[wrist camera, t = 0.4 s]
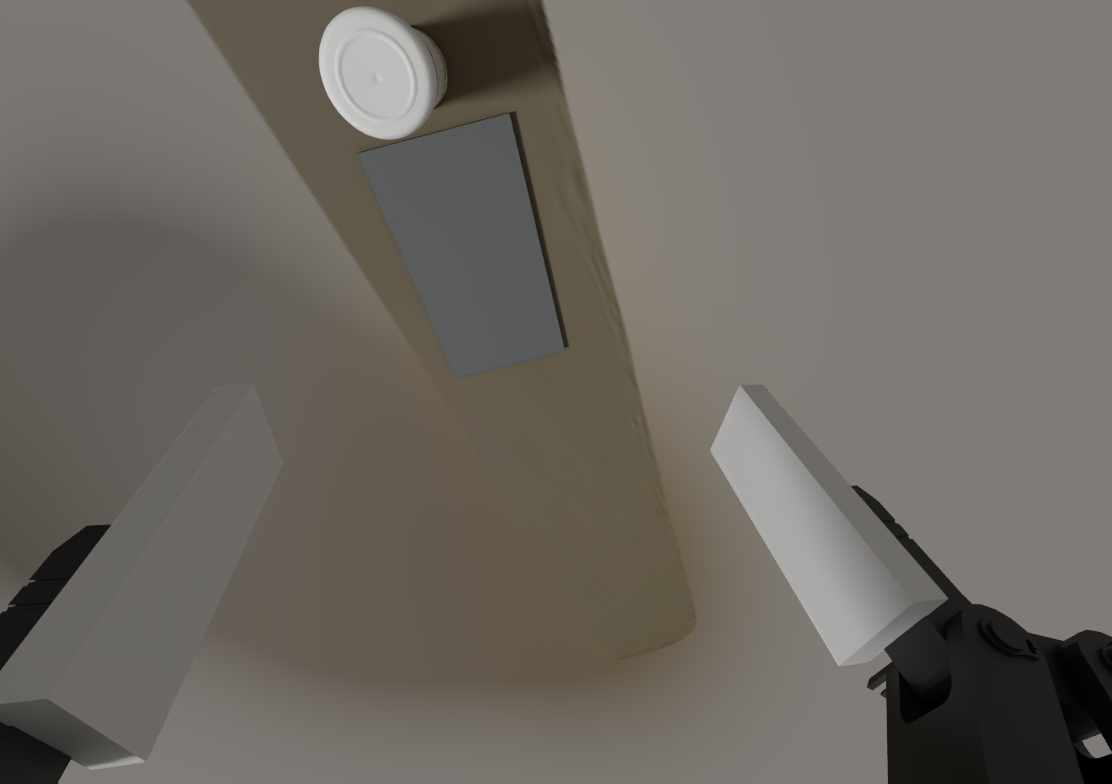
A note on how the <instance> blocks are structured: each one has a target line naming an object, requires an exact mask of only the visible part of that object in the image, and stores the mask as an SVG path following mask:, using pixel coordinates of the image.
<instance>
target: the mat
mask: <svg viewBox="0 0 1112 784" xmlns="http://www.w3.org/2000/svg"><path fill="white" fill-rule="evenodd" d="M357 155H358V157H359V160H360V162H361V164H362V166H363V169H364V171H365V173H366V175H367V178H368V180H369V182H370V185H371V187H372V189H373V191H374V194H375V196H376V198H377V200H378V203H379V205H380V207H381V210H382V212H383V214H384V216H385V219H386V221H387V223H388V225H389V228H390V230H391V232H392V235H393V237H394V239H395V241H396V244H397V246H398V248H399V250H400V253H401V255H402V257H403V260H404V262H405V264H406V266H407V269H408V271H409V273H410V275H411V278H412V280H413V282H414V285H415V287H416V289H417V291H418V294H419V296H420V298H421V300H422V303H423V305H424V307H425V310H426V312H427V314H428V316H429V319H430V321H431V323H432V325H433V328H434V330H435V332H436V335H437V337H438V339H439V341H440V344H441V346H442V348H443V350H444V353H445V355H446V357H447V360H448V362H449V364H450V366H451V369H452V371H453V373H454V375H455V378H460V377H463V376H467V375H471V374H475V373H479V372H483V371H487V370H490V369H494V368H498V367H502V366H506V365H510V364H513V363H517V362H521V361H525V360H529V359H533V358H536V357H540V356H544V355H548V354H552V353H556V352H559V351H563V350H565V349H564V344H563V340H562V336H561V331H560V327H559V323H558V319H557V314H556V310H555V306H554V302H553V297H552V293H551V289H550V284H549V280H548V276H547V272H546V267H545V263H544V259H543V255H542V250H541V246H540V242H539V237H538V233H537V229H536V225H535V220H534V216H533V212H532V208H531V203H530V199H529V195H528V191H527V186H526V182H525V178H524V173H523V169H522V165H521V161H520V156H519V152H518V148H517V144H516V139H515V135H514V131H513V126H512V122H511V118H510V114H509V113H506V114H502V115H499V116H495V117H491V118H487V119H484V120H480V121H476V122H472V123H469V124H465V125H461V126H457V127H454V128H450V129H446V130H442V131H439V132H435V133H431V134H427V135H424V136H420V137H416V138H412V139H409V140H405V141H401V142H397V143H394V144H390V145H386V146H382V147H379V148H375V149H371V150H367V151H364V152H360V153H357Z"/></svg>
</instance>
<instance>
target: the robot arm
mask: <svg viewBox="0 0 1112 784" xmlns="http://www.w3.org/2000/svg"><path fill="white" fill-rule="evenodd" d="M711 452H712V454H713V456H714V458H715V459H716V461H717V463H718V464H719V466H720V468H721V469H722V471H723V473H724V474H725V476H726V478H727V479H728V481H729V483H730V484H731V486H732V488H733V490H734V491H735V493H736V495H737V496H738V498H739V500H740V501H741V503H742V505H743V506H744V508H745V510H746V511H747V513H748V515H749V516H750V518H751V519H752V521H753V523H754V525H755V526H756V528H757V530H758V531H759V533H760V535H761V537H762V538H763V540H764V541H765V543H766V545H767V547H768V548H769V550H770V552H771V553H772V555H773V557H774V558H775V560H776V562H777V563H778V565H779V567H780V568H781V570H782V572H783V573H784V575H785V577H786V579H787V580H788V582H789V584H790V585H791V587H792V588H793V590H794V592H795V594H796V595H797V597H798V599H799V600H800V602H801V603H802V605H803V607H804V609H805V610H806V612H807V614H808V616H809V617H810V619H811V620H812V622H813V624H814V626H815V627H816V629H817V631H818V632H819V634H820V636H821V637H822V639H823V641H824V642H825V644H826V646H827V647H828V649H829V651H830V652H831V654H832V656H833V657H834V659H835V661H836V663H837V664H838V666H844V665H851V664H859V663H865V662H869V661H870V660H872V659H873V658H874V657H876V656H877V655H878V654H879V653H881V652H882V651H883V650H885V651H886V652H887V654H888V655H889V657H890V658H891V660H892V662H891V663H890V664H888V665H887V666H886V667H884V668H883V669H882V670H880V671H879V672H878V673H876V674H875V675H874V676H872V677H871V678H870V679H869V682H868V685H867V687H868V688H870V689H871V690H874V689H875V688H876V687H878V686H879V685H881V684H882V683H883V682H885V681H886V689H884V690H883V691H882V692H881V695H882V696H883V697H885V698H886V700H887V701H886V702H887V755H888V784H1112V754H1109V755H1106V756H1103V757H1100V758H1094V757H1093V756H1092V755H1091V754H1090V753H1089V752H1088V750H1087V749H1086V747H1085V746H1084V744H1083V742H1082V740H1085V739H1088V738H1090V737H1093V736H1096V735H1098V734H1100V733H1101V734H1102V736H1103V737H1104V739H1105V741H1106V742H1107V744H1108V746H1109V748H1110V749H1111V751H1112V637H1111V636H1108V635H1106V634H1104V633H1101V632H1097V631H1091V630H1085V631H1082V632H1080V633H1077V634H1076V635H1074V636H1072V637H1070V638H1069V639H1067V640H1065V641H1061V640H1057V639H1053V638H1048V637H1044V636H1040V635H1036V634H1032V633H1028V632H1027V631H1026V630H1024V629H1023V628H1022V627H1021V626H1019V625H1018V624H1017V623H1016V622H1015V621H1013V620H1012V619H1011V618H1009V617H1007V616H1006V615H1004V614H1002V613H1001V612H999V611H997V610H996V609H993V608H990V607H987V606H984V605H981V604H972V603H971V602H970V601H969V600H968V599H966V598H965V597H964V596H963V595H962V594H961V592H960V591H959V590H958V589H957V588H956V587H955V586H954V585H953V583H952V582H951V581H950V580H949V579H948V578H947V577H946V576H945V575H944V574H943V573H942V571H941V570H940V569H939V568H938V567H937V566H936V565H935V564H934V563H933V561H932V560H931V559H930V558H929V557H928V556H927V555H926V554H925V552H924V551H923V550H922V549H921V548H920V547H919V546H918V545H917V544H916V542H915V541H914V540H913V539H909V537H908V534H907V533H906V531H905V530H904V529H903V528H902V527H901V526H900V525H899V524H896V523H895V519H894V518H893V517H892V516H891V515H890V514H889V513H888V512H887V510H886V509H885V508H884V507H883V506H882V505H881V504H880V502H878V501H877V500H876V499H875V498H873V497H872V496H870V495H869V494H868V493H866V492H865V491H864V490H862V489H861V488H860V487H858V486H850V485H849V484H848V482H847V481H846V480H845V479H844V478H843V477H842V475H841V474H840V473H839V472H838V471H837V470H836V469H835V467H833V465H832V464H831V463H830V462H829V461H828V459H827V458H826V457H825V456H824V455H823V454H822V453H821V451H820V450H819V449H818V448H817V447H816V446H815V444H814V443H813V442H812V441H811V440H810V439H809V438H808V436H807V435H806V434H805V433H804V432H803V431H802V429H801V428H800V427H799V426H798V425H797V424H796V423H795V421H794V420H793V419H792V418H791V417H790V416H789V415H788V413H787V412H786V411H785V410H784V409H783V408H782V407H781V405H780V404H779V403H778V402H777V401H776V400H775V398H774V397H773V396H772V395H771V394H770V393H769V392H768V390H767V389H766V388H765V387H764V386H763V385H739V388H738V390H737V392H736V394H735V397H734V399H733V401H732V403H731V405H730V408H729V410H728V413H727V414H726V417H725V419H724V421H723V423H722V425H721V428H720V430H719V432H718V434H717V437H716V439H715V441H714V443H713V446H712V448H711ZM282 465H283V463H282V460H281V457H280V455H279V452H278V449H277V447H276V444H275V441H274V439H273V436H272V434H271V431H270V428H269V425H268V423H267V420H266V418H265V415H264V413H263V410H262V407H261V404H260V402H259V399H258V396H257V394H256V391H255V388H254V386H253V385H218V386H217V387H216V388H215V390H214V391H213V392H212V394H211V395H210V396H209V397H208V399H207V400H206V401H205V403H204V404H203V405H202V407H201V408H200V409H199V410H198V412H197V413H196V415H195V416H194V417H193V418H192V420H191V421H190V422H189V424H188V425H187V426H186V428H185V429H184V430H183V432H182V433H181V434H180V436H179V437H178V438H177V440H176V441H175V442H174V443H173V445H172V446H171V447H170V449H169V450H168V451H167V453H166V454H165V455H164V456H163V458H162V459H161V460H160V462H159V463H158V465H157V466H156V467H155V468H154V470H153V471H152V472H151V474H150V475H149V476H148V477H147V479H146V480H145V482H144V483H143V484H142V486H141V487H140V488H139V489H138V491H137V492H136V493H135V495H134V496H133V497H132V498H131V500H130V501H129V503H128V504H127V505H126V506H125V508H124V509H123V510H122V512H121V513H120V514H119V516H118V517H117V518H116V520H115V521H114V522H113V524H112V525H93V526H86V527H85V528H83V529H82V530H81V531H79V532H78V533H77V534H75V535H74V536H73V537H72V538H70V539H69V540H67V541H66V542H65V543H63V544H62V545H61V546H60V547H58V548H57V549H55V550H54V551H53V552H52V553H51V554H50V556H49V557H48V558H47V559H46V560H45V561H44V563H43V564H42V565H41V566H40V567H39V569H38V570H37V571H36V572H35V573H34V575H33V576H32V577H31V578H30V579H29V584H28V585H27V586H24V587H23V588H22V589H21V590H20V591H19V593H18V594H17V595H16V596H15V597H14V599H13V600H12V601H11V602H10V603H9V604H8V610H7V611H6V612H2V613H1V614H0V784H58V781H59V779H60V778H61V776H62V774H63V772H64V770H65V769H66V767H67V765H68V763H69V762H70V760H71V759H72V760H73V761H76V762H77V763H79V764H81V765H83V766H85V767H87V768H89V769H91V770H92V769H99V768H107V767H113V766H121V765H128V764H135V763H143V762H146V761H147V759H148V757H149V754H150V752H151V750H152V748H153V745H154V743H155V741H156V739H157V737H158V735H159V732H160V730H161V728H162V726H163V724H164V721H165V720H166V717H167V715H168V713H169V711H170V708H171V706H172V704H173V702H174V700H175V697H176V696H177V693H178V691H179V689H180V687H181V685H182V682H183V680H184V678H185V676H186V674H187V671H188V669H189V667H190V665H191V663H192V661H193V658H194V656H195V654H196V652H197V650H198V648H199V645H200V643H201V641H202V639H203V636H204V634H205V632H206V630H207V628H208V626H209V624H210V621H211V619H212V617H213V615H214V613H215V610H216V608H217V606H218V604H219V602H220V600H221V597H222V595H223V593H224V591H225V589H226V587H227V584H228V582H229V580H230V578H231V576H232V573H233V571H234V569H235V567H236V565H237V562H238V560H239V558H240V556H241V553H242V552H243V550H244V547H245V545H246V543H247V541H248V539H249V536H250V534H251V532H252V529H253V528H254V526H255V523H256V521H257V519H258V517H259V514H260V512H261V510H262V508H263V506H264V504H265V502H266V499H267V497H268V495H269V493H270V491H271V488H272V486H273V484H274V482H275V480H276V478H277V475H278V473H279V470H280V469H281V467H282Z"/></svg>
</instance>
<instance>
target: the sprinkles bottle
mask: <svg viewBox="0 0 1112 784" xmlns="http://www.w3.org/2000/svg"><path fill="white" fill-rule="evenodd" d="M319 66H320V73H321V77H322V81H323V84H324V87H325V89H326V92H327V94H328V96H329V98H330V100H331V102H332V103H333V105H334V106H335V108H336V109H337V110H338V112H339V113H340V114H341V115H342V116H343V117H344V118H345V119H346V120H347V121H348V122H349V123H350V124H351V125H353V126H354V127H355V128H357V129H358V130H360V131H361V132H363V133H365V134H367V135H370V136H372V137H376V138H380V139H399V138H403V137H405V136H408V135H410V134H412V133H413V132H415V131H416V130H417V129H418V128H420V127H421V126H422V125H423V124H424V123H425V121H426V120H427V119H428V117H429V116H430V114H431V112H432V110H433V109H434V107H435V106H436V105H438V104H439V103H440V101H441V100H442V98H443V97H444V94H445V92H446V88H447V79H448V75H447V66H446V63H445V60H444V58H443V55H442V53H441V51H440V49H439V48H438V47H437V45H436V44H435V43H434V41H433V40H432V39H431V38H430V37H429V36H427V35H426V34H425V33H423V32H422V31H420V30H418V29H415V28H412V27H411V26H409V25H408V24H407V23H406V22H405V21H403V20H402V19H400V18H399V17H397V16H396V15H394V14H392V13H390V12H387V11H385V10H382V9H379V8H374V7H367V6H360V7H354V8H350V9H347V10H345V11H343V12H341V13H340V14H338V15H337V16H336V17H335V18H334V19H333V20H332V21H331V22H330V23H329V25H328V26H327V28H326V30H325V32H324V34H323V36H322V40H321V44H320V49H319Z"/></svg>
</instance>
